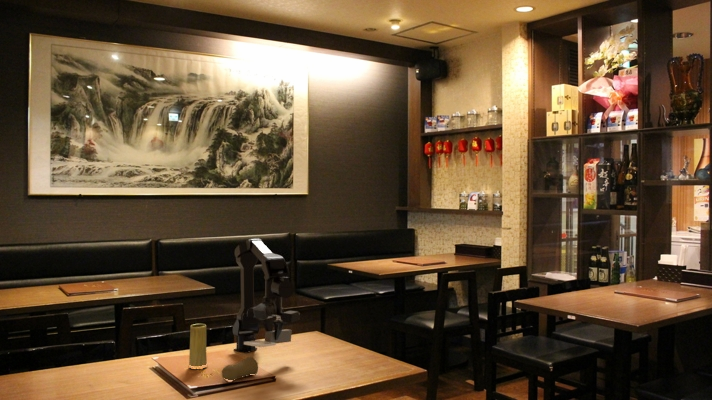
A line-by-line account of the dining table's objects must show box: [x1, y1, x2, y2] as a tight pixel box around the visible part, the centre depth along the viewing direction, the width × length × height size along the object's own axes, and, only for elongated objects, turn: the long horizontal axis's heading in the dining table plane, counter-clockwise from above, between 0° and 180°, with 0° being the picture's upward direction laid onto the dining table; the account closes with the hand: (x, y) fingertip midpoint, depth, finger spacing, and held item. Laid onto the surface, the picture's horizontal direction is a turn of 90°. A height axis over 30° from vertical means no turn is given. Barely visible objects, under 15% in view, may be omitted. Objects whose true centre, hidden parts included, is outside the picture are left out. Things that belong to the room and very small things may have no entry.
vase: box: [188, 323, 208, 366], centre depth 201 cm, size 6×6×14 cm
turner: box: [244, 328, 293, 348], centre depth 202 cm, size 7×20×4 cm, turn 151°
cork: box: [221, 356, 259, 381], centre depth 189 cm, size 6×6×11 cm
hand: (273, 339), depth 203 cm, fingers closed on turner, 2 cm apart
